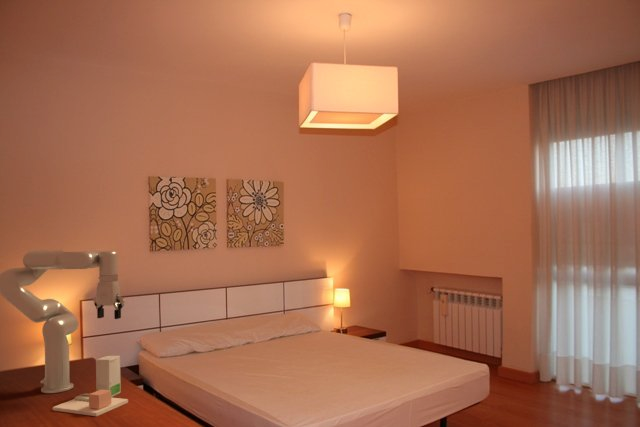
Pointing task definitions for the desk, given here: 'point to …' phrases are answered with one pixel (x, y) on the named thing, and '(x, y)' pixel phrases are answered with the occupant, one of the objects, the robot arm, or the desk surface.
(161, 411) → the desk surface
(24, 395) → the desk surface
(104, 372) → the skincare box
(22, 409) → the desk surface
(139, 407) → the desk surface
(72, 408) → the ticket board
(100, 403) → the stub
